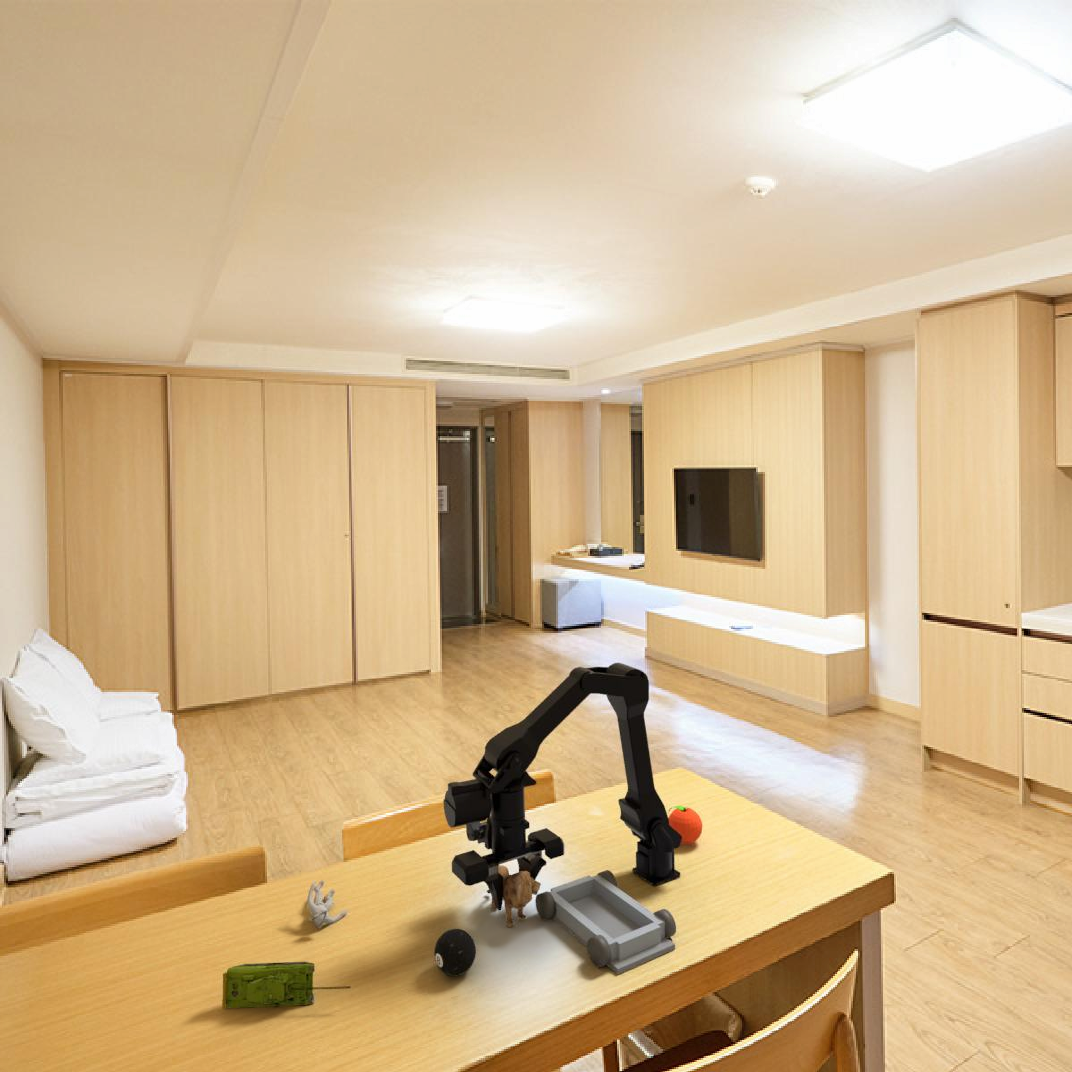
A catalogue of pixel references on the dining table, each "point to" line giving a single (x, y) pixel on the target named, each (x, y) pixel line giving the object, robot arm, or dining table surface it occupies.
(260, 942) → the dining table surface
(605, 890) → the chassis
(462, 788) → the robot arm
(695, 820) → the clementine
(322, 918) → the grey irregular piece
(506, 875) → the lion figurine
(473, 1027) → the dining table surface
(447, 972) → the billiard ball
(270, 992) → the toy tank
